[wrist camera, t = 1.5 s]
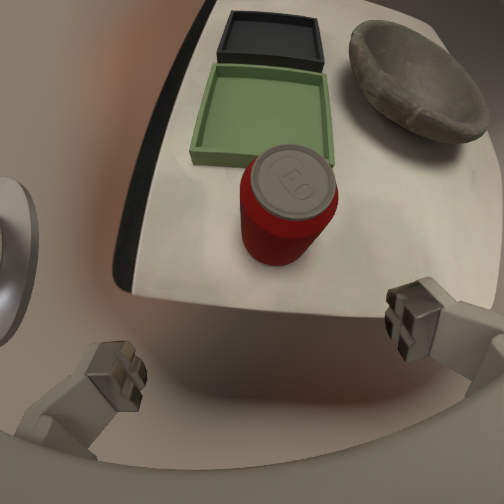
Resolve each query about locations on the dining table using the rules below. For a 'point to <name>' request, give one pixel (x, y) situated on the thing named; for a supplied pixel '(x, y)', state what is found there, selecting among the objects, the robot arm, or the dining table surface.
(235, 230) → the dining table surface
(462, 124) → the bowl
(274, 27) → the slate tray
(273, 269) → the dining table surface
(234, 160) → the sage tray
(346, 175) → the dining table surface
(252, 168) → the beverage can
